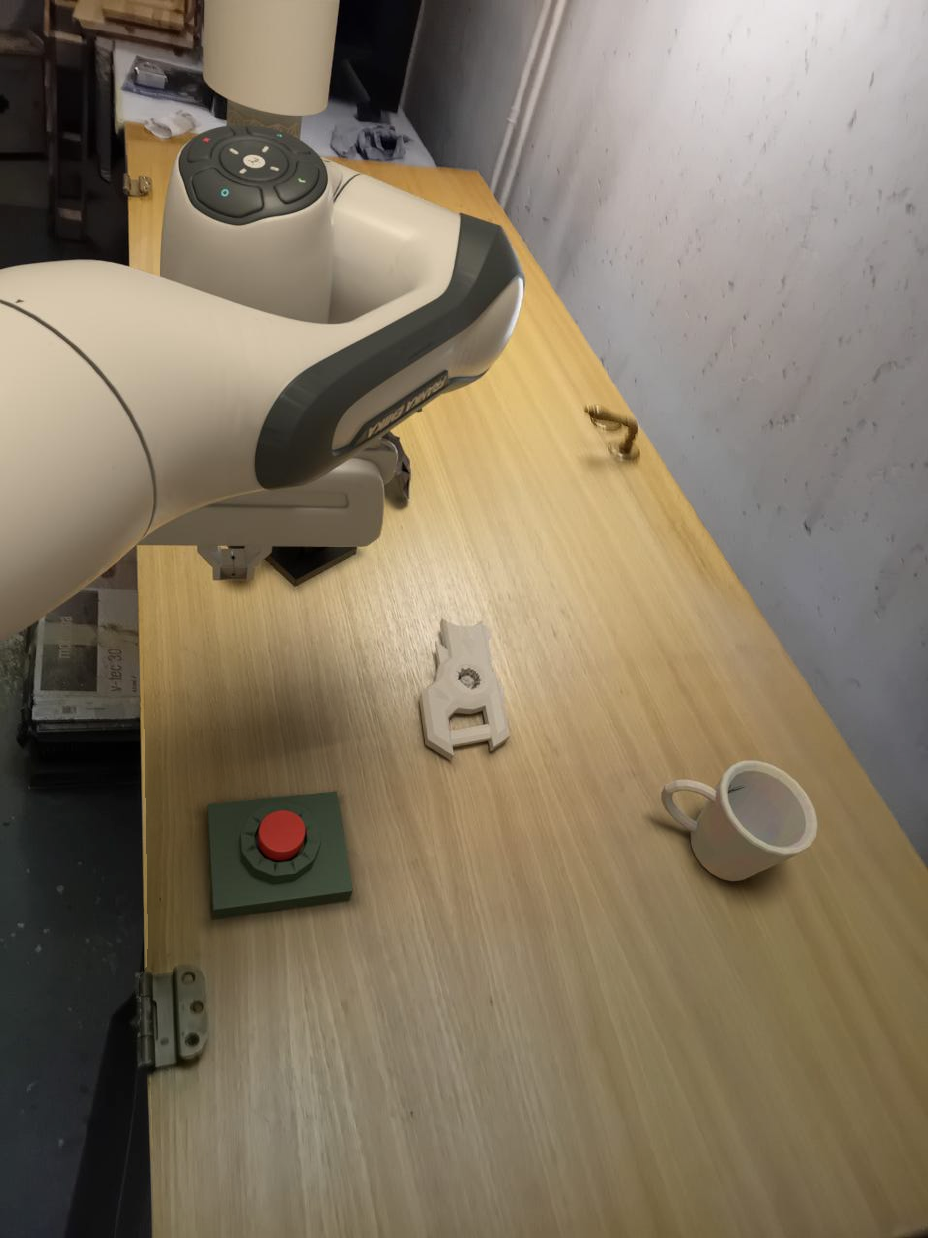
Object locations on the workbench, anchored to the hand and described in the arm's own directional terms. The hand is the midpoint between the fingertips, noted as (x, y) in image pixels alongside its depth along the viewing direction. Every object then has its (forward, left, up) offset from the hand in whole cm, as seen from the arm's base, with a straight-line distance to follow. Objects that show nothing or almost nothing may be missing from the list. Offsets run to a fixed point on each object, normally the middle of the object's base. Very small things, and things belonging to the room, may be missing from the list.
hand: (232, 573), depth 61 cm
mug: (+49, -15, -27) cm, 58 cm away
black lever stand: (+11, +29, -27) cm, 41 cm away
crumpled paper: (+17, +42, -27) cm, 53 cm away
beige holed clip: (+26, +6, -27) cm, 38 cm away
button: (+4, -11, -23) cm, 26 cm away
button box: (+4, -11, -27) cm, 29 cm away
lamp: (+13, +117, -27) cm, 121 cm away
